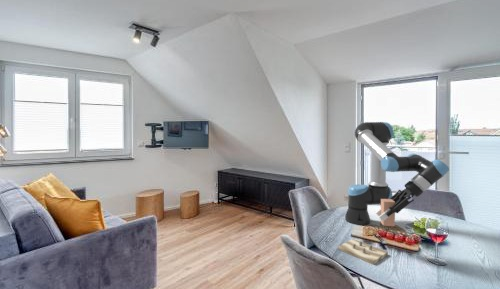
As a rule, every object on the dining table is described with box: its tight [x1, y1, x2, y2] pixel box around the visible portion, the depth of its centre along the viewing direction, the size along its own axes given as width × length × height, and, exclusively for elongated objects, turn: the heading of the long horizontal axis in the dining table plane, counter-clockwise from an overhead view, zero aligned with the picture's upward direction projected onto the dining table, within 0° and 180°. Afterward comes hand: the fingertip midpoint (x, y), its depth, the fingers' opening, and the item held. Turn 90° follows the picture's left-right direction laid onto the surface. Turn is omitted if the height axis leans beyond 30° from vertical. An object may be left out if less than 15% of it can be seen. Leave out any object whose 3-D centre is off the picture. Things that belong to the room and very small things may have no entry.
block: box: [380, 199, 396, 227], centre depth 124 cm, size 5×5×12 cm
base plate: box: [337, 238, 389, 265], centre depth 123 cm, size 14×18×4 cm
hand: (379, 217), depth 125 cm, fingers closed on block, 5 cm apart
